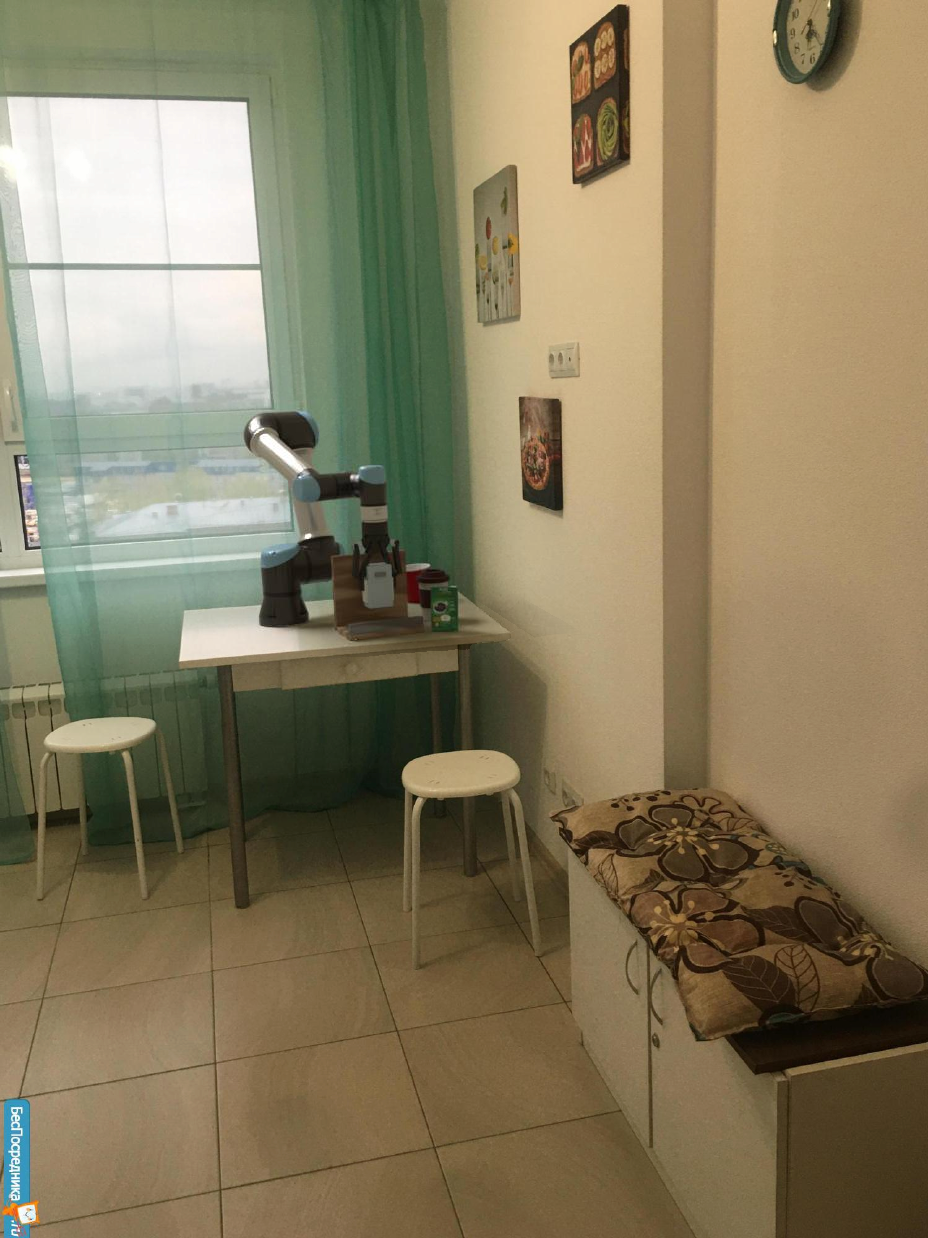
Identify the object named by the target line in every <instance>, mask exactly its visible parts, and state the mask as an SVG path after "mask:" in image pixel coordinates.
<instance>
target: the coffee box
mask: <svg viewBox="0 0 928 1238" xmlns="http://www.w3.org/2000/svg"><path fill="white" fill-rule="evenodd" d="M430 624H431V625H430V628H431V629H430V630H431V631H430V632H437V631H438V632H459V586H458V585H448V586H431V622H430Z"/></svg>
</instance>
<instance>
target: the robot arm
mask: <svg viewBox="0 0 928 1238" xmlns="http://www.w3.org/2000/svg"><path fill="white" fill-rule="evenodd" d="M319 437H320V431H319V427H318V424H317V421H316V420H315V419H314V417H313V416H312V415H311V414H310V413H308V412H305V411H298V410H297V411H296V410H292V411H278V412H276V411H274V412H273V411H272V412H260V413H257V414H256V415H254V416H252V417H251V418H250V419H249V420H248V422H246V425H245V427H244V430H243V440H244V444H245V446H246V448H247V449H248V450H249V451H250V453H252V454H253V455H254V456H255V457H257V458H260V459H263V460H264V461H266V462H267V464H269V465H270V466H271V467H272V468H273V469H274V470H275V471H276V472H278V473H279V474H280V475H281V476H282V477H283V478H284V479H286V480H287V481H288V485H289V490H290V494H291V495H290V496H291V498H292V499H291V500H292V504H293V508H294V513H295V516H296V522H297V523H296V524H297V526H298V530H299V536H300V537H299V539H298V541H297V542H285V543H278V544H274V545H271V546H268V547H266V548H264V549H263V550H262V551H261V554H260V571H261V572H260V573H261V582H262V583H261V585H262V597H263V598H262V602H261V604H260V605H261V606H260V610H259V614H258V623H259V624H260V625H262V626H265V627H288V626H291V627H292V626H298V625H301V624H306V623H307V622H309V621H310V613H309V610H308V607H307V605H306V602H305V600H304V597H303V593H302V591H303V590H302V586H304V585H310V584H316V583H323V582H325V583H329V582H331V581H332V566H331V556H336V555H347V554H346V549H345V547H344V546H343V544H342V543H340V542H338V541H336V540H335V534H332V533H331V532H330V531H329V530H328V526H327V521H326V517H325V512H324V508H323V504H322V502H324V501H333V500H334V501H337V500H344V499H359V502H360V519H361V521H362V522H361V539H360V541H357V542H352V543H351V547H352V554H353V564H352V577H354V578H357V579H358V580H359V590H360V591H362V593H363V602H365V603H368V587H367V580H366V579H364V578H365V575H366V572H367V570H366V566H368V565H369V562H370V559H371V557H372V554H376V553H381V555H382V557H383V559H384V562H385V563H386V564H391V569H392V590H393V588H396V577H397V575H399V574H401V573H402V567H401V561H400V555H399V550H400V548H399V546H400V541H399V540H398V539H395V538H392V539H391V538H390V536H389V522H388V518H389V517H388V516H389V515H388V498H387V497H388V496H387V495H388V493H387V492H388V491H387V489H388V488H387V479H388V478H387V476H386V475H387V474H386V468H385V466H383V465H379V464H378V465H375V464H373V465H361V466H360V467H359V468H358V471H354V470H345V471H341V472H331V473H330V472H329V473H319V472H318V470H316V469H315V467H314V461H313V455H314V454H315V452H316V447H317V446H318V443H319V441H320V438H319ZM389 545H390V547H391V551H392V553H393V559H394V565H395V570H394V567H393V565H392V563H391V560H390V558H389V555H388V552H387V551H388V550H387V548H388V546H389ZM362 547H363V548H364V549H365V550H364V552H363V553H364V558H363V561H362V565H361V568H360V571H359V559H360V553H361V551H360V550H361V549H362ZM393 600H394V590H393Z"/></svg>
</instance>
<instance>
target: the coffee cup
mask: <svg viewBox="0 0 928 1238" xmlns="http://www.w3.org/2000/svg"><path fill="white" fill-rule="evenodd" d="M450 580H451V579H450V574H448V573H446V572H445V570H444V569H440V568H429V569H427V570H423V571H422V572H421V574H420V575H418V576H417V582H419V597H420V603H419V605H420V608H421V616H423V619H424V621H425V622H429V621H430V623H431V586H449V585H448V582H450Z"/></svg>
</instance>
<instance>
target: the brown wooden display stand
mask: <svg viewBox="0 0 928 1238" xmlns="http://www.w3.org/2000/svg"><path fill="white" fill-rule="evenodd" d="M387 552H388V555H389V558H390V560H391V563H392V565H393V567H394V570H395V565H394V559H393V553H392V550H387ZM364 553H365V552H360V559H359V571H360V568H361V565H362V561H363V558H364ZM399 555H400V561H401V567H402V573H401V574H399V575H397V577H396V588H393V590H394V600H393V606H389V607H380V608H371V609H370V608H368V607H366V606H364V602H363V593H362V591H360V590H359V580H358V579H357V578H354V577H352V564H353V553H349V554H346V555H336V556H331V566H332V580H331V581H332V596H333V597H332V598H333V599H332V600H333V615H334V617H333V618H334V631H335V632H336V631H337V632H336V633H338V634H339V635H341V636H342V637H344V638H345V637H346V638H345V639H347V640H349V641H351V640H353V641H356V640H355V639H361V640H367V639H366V638H369V639H374V638H373V637H378V638H382V637H381V636H386V637H392V635H394V636H398V635H397V634H403V635H408V634H409V633H411V634H417V633H416V632H419V633H424V632H425V624H424V619H423V616H422V615H416V616H409V606H408V602H407V579H406V565H407V561H406V559H407V558H406V550H405V549H399ZM373 563H384V559H383V557H382V555H381V553H376V554H372V557H371V559H370V562H369V564H373Z"/></svg>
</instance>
